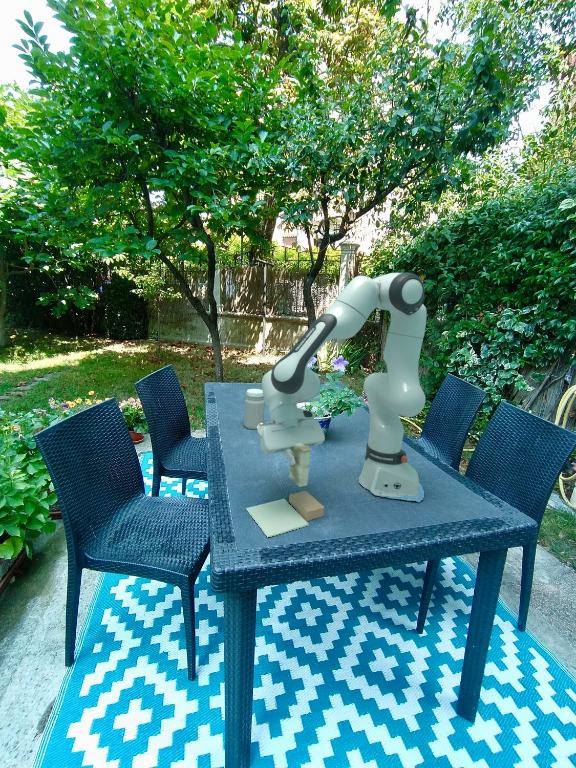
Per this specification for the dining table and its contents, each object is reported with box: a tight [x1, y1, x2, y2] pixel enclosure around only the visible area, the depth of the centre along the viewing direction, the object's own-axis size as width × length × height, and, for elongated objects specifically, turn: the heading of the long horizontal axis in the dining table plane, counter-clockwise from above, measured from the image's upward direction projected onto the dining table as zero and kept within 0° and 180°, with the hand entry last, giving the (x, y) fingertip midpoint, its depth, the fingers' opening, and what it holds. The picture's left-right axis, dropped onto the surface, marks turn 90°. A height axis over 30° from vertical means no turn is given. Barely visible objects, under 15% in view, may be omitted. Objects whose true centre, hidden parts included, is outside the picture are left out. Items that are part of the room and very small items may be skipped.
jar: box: [243, 388, 266, 431], centre depth 169 cm, size 10×10×18 cm
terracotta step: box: [288, 490, 325, 522], centre depth 106 cm, size 10×6×3 cm, turn 30°
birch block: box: [288, 443, 312, 488], centre depth 101 cm, size 6×2×11 cm, turn 30°
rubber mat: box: [245, 498, 310, 539], centre depth 101 cm, size 14×13×1 cm
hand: (300, 463), depth 100 cm, fingers closed on birch block, 2 cm apart
